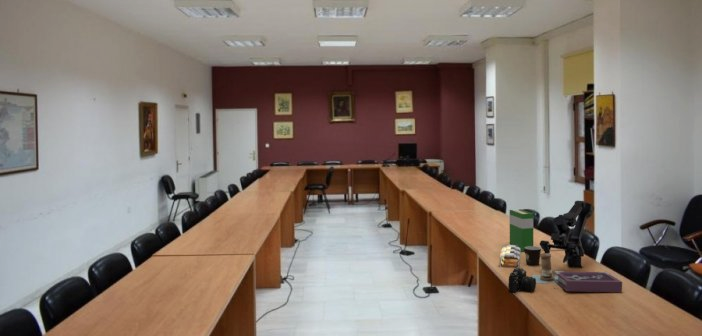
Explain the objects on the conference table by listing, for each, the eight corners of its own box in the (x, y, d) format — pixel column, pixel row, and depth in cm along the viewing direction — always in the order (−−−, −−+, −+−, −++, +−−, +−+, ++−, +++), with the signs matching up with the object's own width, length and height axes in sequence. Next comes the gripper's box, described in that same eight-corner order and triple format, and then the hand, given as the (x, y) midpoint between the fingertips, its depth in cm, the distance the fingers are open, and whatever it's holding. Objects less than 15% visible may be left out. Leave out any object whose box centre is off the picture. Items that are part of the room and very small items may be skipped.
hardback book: (509, 246, 331) (509, 209, 329) (520, 245, 332) (520, 209, 330) (522, 252, 314) (521, 214, 312) (533, 251, 315) (533, 213, 313)
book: (605, 281, 251) (606, 271, 251) (622, 292, 235) (622, 281, 235) (553, 280, 252) (554, 271, 252) (566, 291, 236) (567, 280, 235)
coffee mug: (542, 267, 279) (542, 249, 278) (525, 267, 281) (525, 249, 280) (538, 262, 290) (538, 245, 290) (523, 261, 292) (522, 244, 291)
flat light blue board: (559, 277, 261) (559, 275, 261) (565, 285, 247) (565, 283, 247) (531, 276, 264) (531, 274, 264) (535, 284, 250) (535, 283, 250)
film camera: (536, 296, 233) (536, 275, 232) (508, 294, 237) (507, 273, 236) (536, 285, 250) (536, 265, 249) (509, 283, 254) (509, 263, 253)
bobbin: (549, 275, 259) (547, 251, 258) (557, 279, 252) (555, 255, 251) (537, 277, 258) (535, 254, 257) (545, 281, 251) (543, 257, 250)
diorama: (519, 269, 278) (519, 246, 277) (499, 268, 281) (499, 245, 280) (520, 258, 301) (520, 236, 300) (502, 257, 305) (502, 235, 304)
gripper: (540, 225, 269) (531, 250, 262) (576, 229, 256) (568, 255, 249) (547, 237, 276) (538, 261, 269) (582, 241, 263) (574, 267, 256)
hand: (554, 261), depth 260 cm, fingers open, 9 cm apart
